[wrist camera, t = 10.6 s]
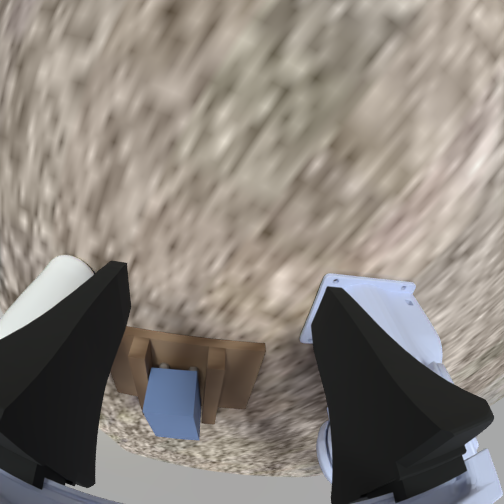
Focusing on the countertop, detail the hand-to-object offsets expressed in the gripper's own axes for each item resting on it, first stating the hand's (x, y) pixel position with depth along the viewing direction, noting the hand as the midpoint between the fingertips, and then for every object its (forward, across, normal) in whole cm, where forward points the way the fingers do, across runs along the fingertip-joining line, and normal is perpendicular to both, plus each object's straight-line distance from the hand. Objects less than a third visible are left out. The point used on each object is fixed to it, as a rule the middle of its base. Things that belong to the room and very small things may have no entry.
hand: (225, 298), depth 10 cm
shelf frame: (+10, +3, +20) cm, 23 cm away
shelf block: (+8, +3, +20) cm, 22 cm away
